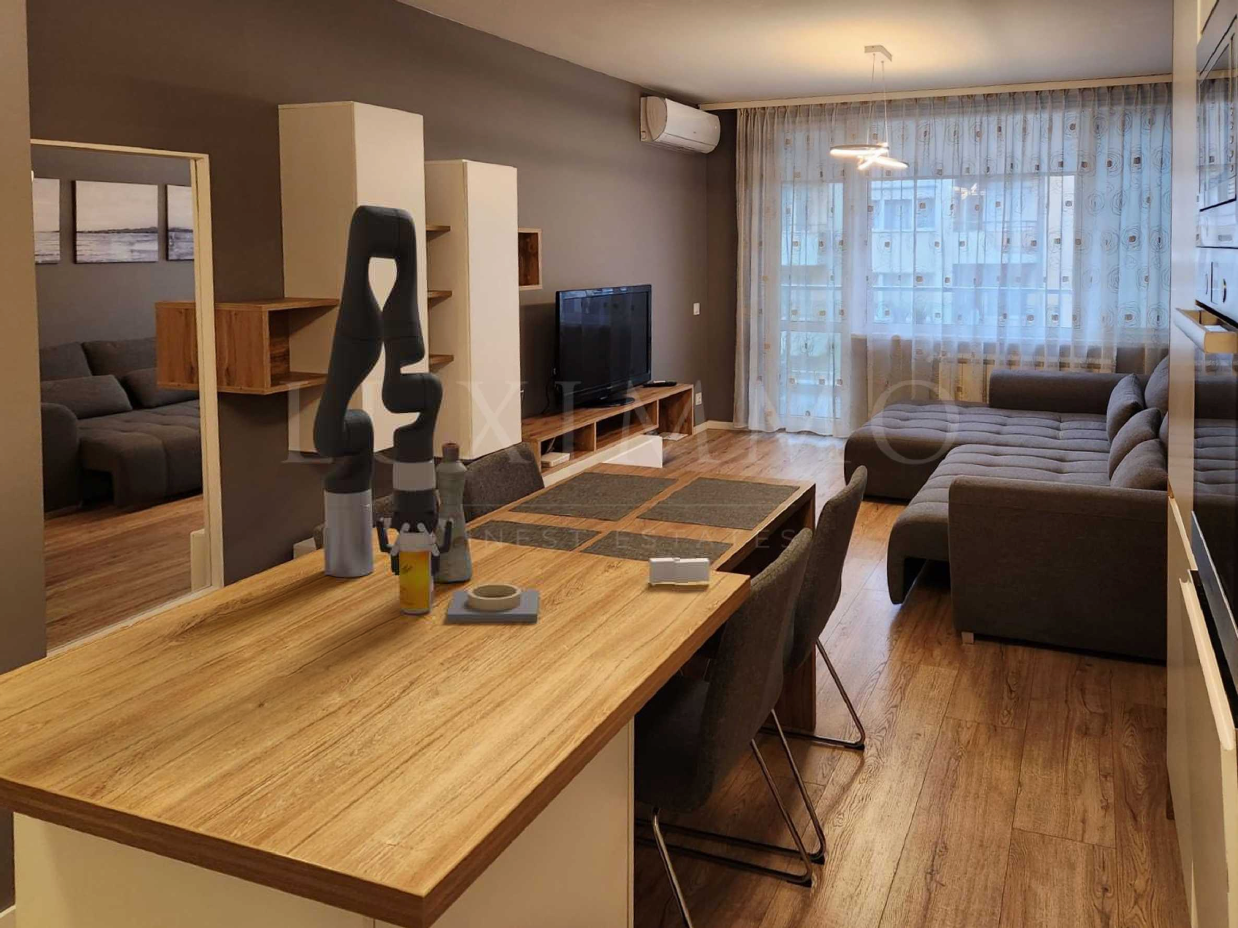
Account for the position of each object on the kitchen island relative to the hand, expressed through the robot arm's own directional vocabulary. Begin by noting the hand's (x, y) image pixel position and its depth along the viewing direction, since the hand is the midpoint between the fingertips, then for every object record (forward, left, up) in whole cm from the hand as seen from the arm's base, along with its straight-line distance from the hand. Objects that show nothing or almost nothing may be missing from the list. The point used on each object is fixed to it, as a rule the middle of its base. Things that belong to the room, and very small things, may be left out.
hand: (416, 574), depth 202 cm
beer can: (0, 0, -7) cm, 7 cm away
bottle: (+4, +20, -7) cm, 22 cm away
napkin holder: (+49, +17, -8) cm, 53 cm away
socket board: (+14, 0, -7) cm, 16 cm away
